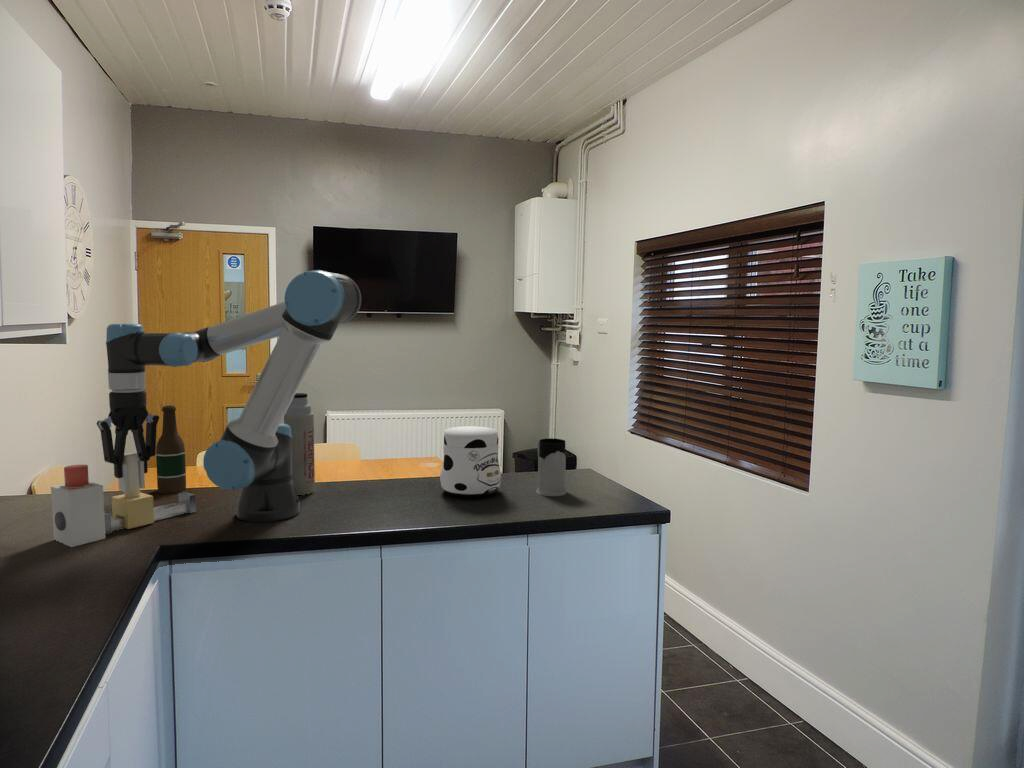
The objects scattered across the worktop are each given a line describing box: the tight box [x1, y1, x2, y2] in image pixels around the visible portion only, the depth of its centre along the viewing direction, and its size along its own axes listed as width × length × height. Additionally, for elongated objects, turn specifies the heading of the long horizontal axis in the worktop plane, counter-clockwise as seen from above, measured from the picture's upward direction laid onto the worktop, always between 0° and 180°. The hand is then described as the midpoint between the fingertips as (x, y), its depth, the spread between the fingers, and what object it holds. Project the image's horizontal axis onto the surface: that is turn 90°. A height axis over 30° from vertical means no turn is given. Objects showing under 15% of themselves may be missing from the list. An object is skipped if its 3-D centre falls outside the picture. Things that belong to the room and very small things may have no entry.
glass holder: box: [535, 437, 567, 497], centre depth 198 cm, size 9×14×15 cm, turn 21°
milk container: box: [439, 425, 502, 498], centre depth 193 cm, size 17×17×18 cm
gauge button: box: [63, 464, 90, 487], centre depth 149 cm, size 4×4×4 cm
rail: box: [104, 491, 197, 535], centre depth 164 cm, size 5×22×4 cm, turn 147°
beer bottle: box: [155, 405, 187, 495], centre depth 190 cm, size 8×8×24 cm
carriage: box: [111, 452, 155, 530], centre depth 160 cm, size 7×6×16 cm
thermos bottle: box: [283, 392, 316, 496], centre depth 190 cm, size 8×8×28 cm
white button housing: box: [50, 481, 107, 548], centre depth 150 cm, size 8×7×12 cm
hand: (131, 489), depth 160 cm, fingers closed on carriage, 3 cm apart
